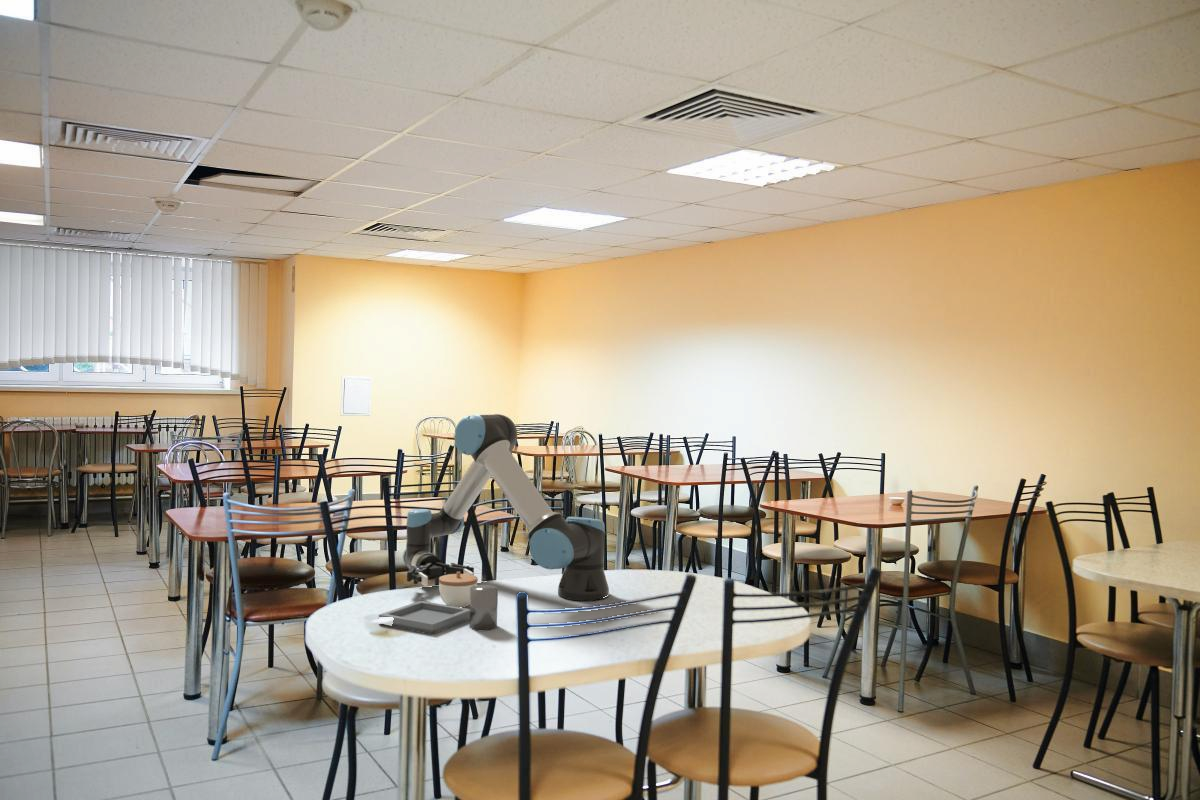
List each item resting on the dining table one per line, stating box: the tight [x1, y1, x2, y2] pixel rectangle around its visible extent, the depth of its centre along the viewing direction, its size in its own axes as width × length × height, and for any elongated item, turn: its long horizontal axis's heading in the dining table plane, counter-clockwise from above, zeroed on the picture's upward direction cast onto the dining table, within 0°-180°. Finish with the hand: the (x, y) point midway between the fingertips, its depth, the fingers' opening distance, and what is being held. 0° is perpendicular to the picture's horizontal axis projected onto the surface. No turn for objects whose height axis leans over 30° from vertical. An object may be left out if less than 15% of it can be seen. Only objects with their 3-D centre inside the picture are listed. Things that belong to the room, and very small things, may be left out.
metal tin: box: [468, 584, 499, 631], centre depth 225 cm, size 7×7×10 cm
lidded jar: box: [438, 572, 479, 608], centre depth 245 cm, size 11×11×9 cm
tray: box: [378, 600, 470, 635], centre depth 228 cm, size 17×17×2 cm
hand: (449, 579), depth 251 cm, fingers open, 13 cm apart
